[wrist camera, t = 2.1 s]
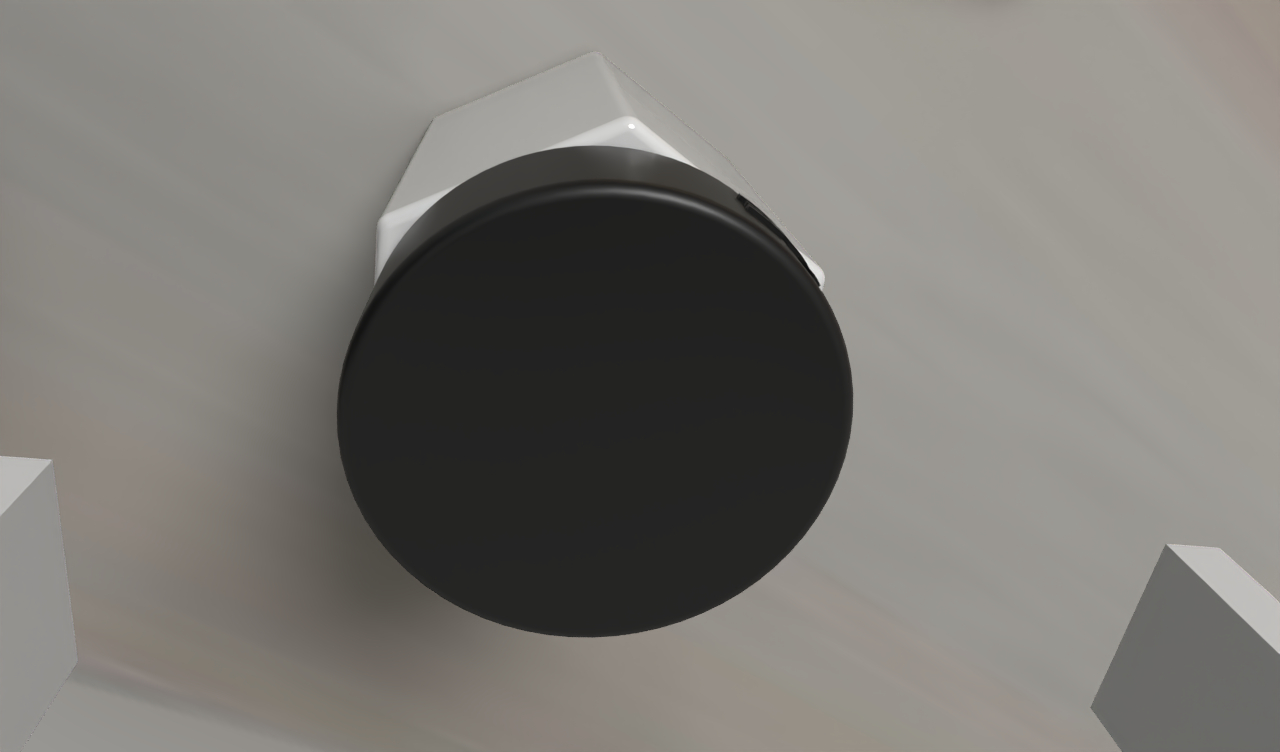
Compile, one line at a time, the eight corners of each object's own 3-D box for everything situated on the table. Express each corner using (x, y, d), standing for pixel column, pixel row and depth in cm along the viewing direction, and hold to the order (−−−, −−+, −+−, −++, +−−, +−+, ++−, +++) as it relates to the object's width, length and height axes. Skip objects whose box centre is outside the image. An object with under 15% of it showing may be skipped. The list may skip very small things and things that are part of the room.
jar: (691, 384, 28) (791, 673, 17) (411, 356, 26) (328, 650, 16) (754, 74, 24) (932, 192, 13) (432, 24, 23) (341, 110, 12)
